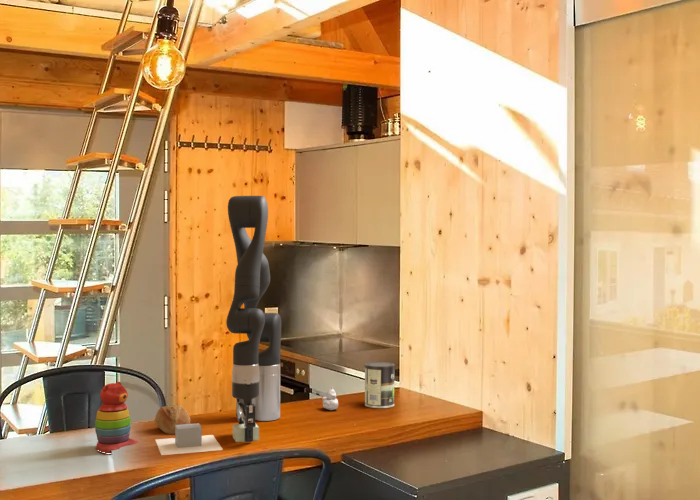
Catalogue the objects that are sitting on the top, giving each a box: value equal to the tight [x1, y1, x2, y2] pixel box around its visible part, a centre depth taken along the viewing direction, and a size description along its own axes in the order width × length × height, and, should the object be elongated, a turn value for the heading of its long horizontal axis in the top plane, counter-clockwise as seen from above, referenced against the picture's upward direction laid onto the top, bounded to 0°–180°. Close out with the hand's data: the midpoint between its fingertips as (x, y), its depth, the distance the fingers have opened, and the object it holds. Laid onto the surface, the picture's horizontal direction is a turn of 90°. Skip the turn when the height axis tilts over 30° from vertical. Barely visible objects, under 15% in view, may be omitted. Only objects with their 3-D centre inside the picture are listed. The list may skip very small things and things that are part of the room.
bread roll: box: [154, 404, 191, 435], centre depth 234 cm, size 10×15×8 cm, turn 28°
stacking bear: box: [94, 381, 139, 454], centre depth 217 cm, size 11×10×18 cm
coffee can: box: [364, 361, 396, 409], centre depth 271 cm, size 10×10×14 cm
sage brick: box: [232, 422, 260, 443], centre depth 223 cm, size 6×5×5 cm
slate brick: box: [174, 422, 203, 448], centre depth 217 cm, size 6×5×5 cm
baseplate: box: [154, 434, 224, 456], centre depth 217 cm, size 16×16×1 cm
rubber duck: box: [322, 386, 339, 411], centre depth 265 cm, size 5×7×8 cm
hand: (245, 437), depth 223 cm, fingers open, 8 cm apart
